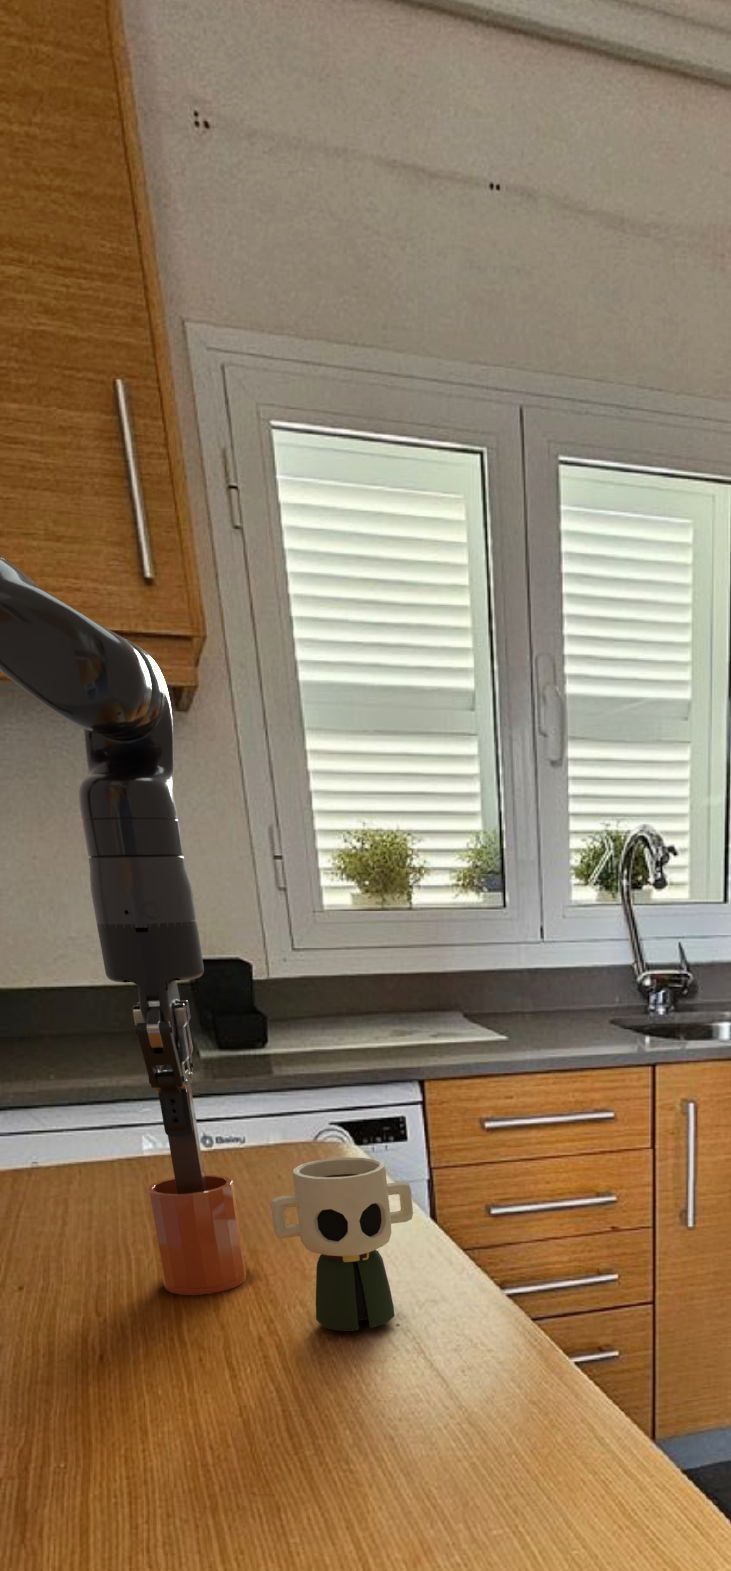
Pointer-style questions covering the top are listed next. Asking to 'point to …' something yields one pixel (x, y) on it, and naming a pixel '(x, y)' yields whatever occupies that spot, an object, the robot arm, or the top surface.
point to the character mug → (345, 1235)
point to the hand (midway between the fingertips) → (181, 1130)
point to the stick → (187, 1155)
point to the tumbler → (197, 1236)
